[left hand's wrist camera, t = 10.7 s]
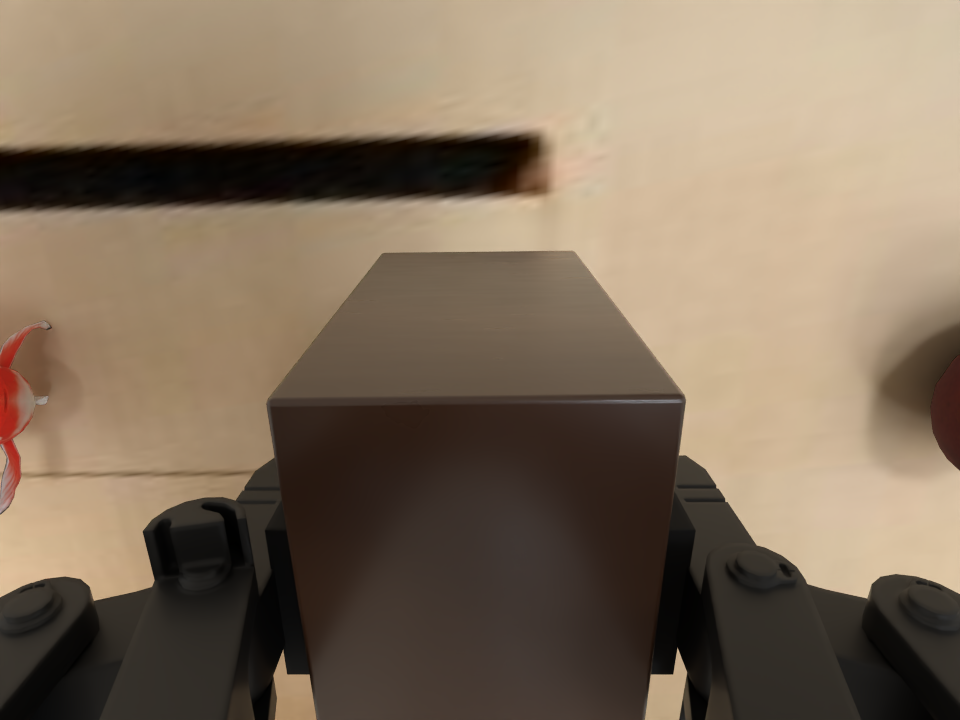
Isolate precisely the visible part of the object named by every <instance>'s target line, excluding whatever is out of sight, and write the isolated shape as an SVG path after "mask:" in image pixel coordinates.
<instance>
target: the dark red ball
mask: <svg viewBox="0 0 960 720" xmlns="http://www.w3.org/2000/svg"><path fill="white" fill-rule="evenodd" d="M931 419H932V429H933V433H934V436H935V438H936V440H937V442H938V445H939V447H940V449H941V450H942V452H943V453H944V455H945V456H946V458H947V459H948V460H949V461H950V462H951V463H952V464H953V465H954V466H955V467H957V468H958V469H959V470H960V354H959V355H958V356H957V357H956V358H955V359H954V360H953V361H952V362H951V364H950V365H949V367H948V368H947V370H946V371H945V372H944V374H943V375H942V377H941V378H940V379H939V381H938V382H937V384H936V386H935V390H934V394H933V399H932V403H931Z"/></svg>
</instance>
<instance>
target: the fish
mask: <svg viewBox="0 0 960 720" xmlns="http://www.w3.org/2000/svg"><path fill="white" fill-rule="evenodd" d="M36 328H42V329H45V330H48V329H51V328H52V327H51V326H50V325H49V324H48V323H47V322H46V321H41V322H38V323H35V324H32V325H29V326H26V327H24V328H23V329H21V330H20V331H18V332H17V333H15V334H13V335H12V336H10V337H9V338H8V339H7V340H6V341H5V343H4V344H3V345H2V347H1V350H0V446H1V448H2V449H3V451H4V452H5V455H6V457H7V460H6V466H5V469H4V472H3V476H2V481H1V491H0V514H2V513H3V512H4V511H5V510H6V509H7V508H8V507H9V506H10V504H11V502H12V500H13V498H14V494H15V489H16V487H17V486H18V484H19V481H20V478H21V458H20V455H19V453H18V450H17V448H16V446H15V444H14V441H13V439H12V438H14V437H15V436H17V435H18V434H19V433H21V432H22V431H23V430H24V429H25V427H26V426H27V425H28V424H29V422H30V420H31V419H32V417H33V413H34V408H35V404H37V405H44V404H46V403H47V400H48V396H34V395H33V392H32V389H31V387H30V385H29V383H28V381H27V380H26V379H25V378H24V377H22V376H21V375H20V374H19V373H18V372H17V371H15V370H12V369H10V367H11V365H12V362H13V360H14V358H15V355H16V353H17V351H18V349H19V348H20V346H21V345H22V343H23V341H24V339H25V337H26V336H27V335H28V334H29V332H30V331H31V330H32V329H36Z"/></svg>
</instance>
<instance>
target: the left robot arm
mask: <svg viewBox="0 0 960 720" xmlns="http://www.w3.org/2000/svg"><path fill="white" fill-rule="evenodd" d="M143 535H144V539H145V543H146V547H147V551H148V555H149V559H150V563H151V567H152V571H153V575H154V579H155V581H154V584H153V586H152V587H151V588H147V589H144V590H140V591H137V592H133V593H128V594H124V595H119V596H114V597H110V598H105V599H101V600H96V601H94V600H93V597H92V594H91V590H90V587H89V586H88V585H87V584H86V583H84V582H83V581H82V580H81V579H76V578H70V577H58V578H50V579H44V580H40V581H37V582H34V583H30V584H27V585H25V586H22V587H20V588H18V589H16V590H14V591H12V592H10V593H8V594H6V595H4V596H2V597H0V720H275V712H276V702H277V696H276V690H275V683H274V677H273V674H274V672H275V669H276V667H277V664H278V661H279V659H280V656H281V654H282V651H283V650H284V656H285V663H286V669H287V674H309V667H308V661H307V655H306V649H305V642H304V636H303V630H302V624H301V617H300V611H299V605H298V599H297V592H296V586H295V580H294V574H293V567H292V561H291V555H290V549H289V542H288V536H287V530H286V524H285V517H284V511H283V505H282V499H281V492H280V486H279V480H278V474H277V467H276V461H275V458H273V459H272V460H271V461H269V462H268V463H266V464H265V465H264V466H262V467H261V468H259V469H258V470H256V471H255V473H254V474H253V476H252V477H251V479H250V480H249V482H248V483H247V485H246V486H245V490H244V491H242V492H241V494H240V495H239V497H238V498H237V500H236V501H235V500H231V499H227V498H223V497H215V498H201V499H197V500H192V501H187V502H184V503H182V504H179V505H177V506H175V507H172V508H170V509H167V510H166V511H164V512H163V513H161V514H160V515H158V516H157V517H156V518H154V519H153V520H152V521H151V522H150V523H149V524H148V526H147V527H146V528H145V529H144V531H143ZM677 647H678V649H679V652H680V655H681V657H682V660H683V662H684V665H685V668H686V670H687V677H686V683H685V689H684V695H683V701H682V707H681V713H680V719H679V720H960V594H958V593H956V592H954V591H952V590H950V589H948V588H946V587H944V586H942V585H941V584H938V583H935V582H933V581H930V580H926V579H922V578H919V577H915V576H907V575H898V574H895V575H889V576H883V577H880V578H879V579H877V580H876V581H875V582H874V583H873V584H872V586H871V589H870V592H869V596H868V599H866V598H862V597H857V596H853V595H848V594H844V593H839V592H834V591H830V590H825V589H822V588H818V587H815V586H811V585H808V584H807V583H806V580H805V579H804V577H803V576H802V574H801V573H800V571H799V570H798V568H797V567H796V566H795V565H793V564H792V563H791V562H789V561H788V560H787V559H786V558H784V557H783V556H781V555H779V554H777V553H775V552H773V551H771V550H769V549H767V548H764V547H760V546H757V545H756V544H755V542H754V541H753V539H752V538H751V536H750V535H749V533H748V532H747V530H746V529H745V528H744V526H743V525H742V523H741V522H740V520H739V519H738V517H737V516H736V514H735V513H734V511H733V510H732V508H731V507H730V505H729V504H728V502H725V498H724V496H723V495H722V493H721V492H720V490H719V489H716V484H715V483H714V481H713V480H712V478H711V477H710V475H709V474H708V472H707V471H706V470H705V469H704V468H703V467H701V466H700V465H698V464H697V463H696V462H694V461H693V460H691V459H690V458H688V457H687V456H679V458H678V465H677V473H676V481H675V489H674V497H673V504H672V512H671V520H670V528H669V535H668V543H667V551H666V559H665V566H664V574H663V582H662V590H661V598H660V605H659V613H658V621H657V629H656V636H655V644H654V652H653V660H652V667H651V674H673V672H674V666H675V659H676V653H677Z"/></svg>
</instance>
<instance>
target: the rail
mask: <svg viewBox="0 0 960 720" xmlns="http://www.w3.org/2000/svg"><path fill="white" fill-rule="evenodd" d="M685 403H686V399H685V396H684V394H683V393H682V391H681V390H680V389H679V387H678V386H677V385H676V384H675V382H674V381H673V380H672V378H671V377H670V376H669V374H668V373H667V372H666V370H665V369H664V368H663V367H662V365H661V364H660V363H659V361H658V360H657V359H656V357H655V356H654V355H653V353H652V352H651V351H650V350H649V348H648V347H647V346H646V344H645V343H644V342H643V340H642V339H641V338H640V336H639V335H638V334H637V333H636V331H635V330H634V329H633V327H632V326H631V325H630V323H629V322H628V321H627V319H626V318H625V317H624V316H623V314H622V313H621V312H620V310H619V309H618V308H617V306H616V305H615V304H614V302H613V301H612V300H611V299H610V297H609V296H608V295H607V293H606V292H605V291H604V289H603V288H602V287H601V286H600V284H599V283H598V282H597V280H596V279H595V278H594V276H593V275H592V274H591V272H590V271H589V270H588V269H587V267H586V266H585V265H584V263H583V262H582V261H581V259H580V258H579V257H578V255H577V254H576V253H575V252H574V251H520V252H431V253H383V254H382V255H381V256H380V257H379V259H378V260H377V261H376V262H375V264H374V265H373V266H372V267H371V269H370V270H369V271H368V273H367V274H366V275H365V276H364V278H363V279H362V280H361V281H360V283H359V284H358V285H357V287H356V288H355V289H354V290H353V292H352V293H351V294H350V295H349V297H348V298H347V299H346V301H345V302H344V303H343V304H342V306H341V307H340V308H339V309H338V311H337V312H336V313H335V314H334V316H333V317H332V318H331V320H330V321H329V322H328V323H327V325H326V326H325V327H324V328H323V330H322V331H321V332H320V334H319V335H318V336H317V337H316V339H315V340H314V341H313V342H312V344H311V345H310V346H309V348H308V349H307V350H306V351H305V353H304V354H303V355H302V356H301V358H300V359H299V360H298V362H297V363H296V364H295V365H294V367H293V368H292V369H291V370H290V372H289V373H288V374H287V376H286V377H285V378H284V379H283V381H282V382H281V383H280V384H279V386H278V387H277V388H276V390H275V391H274V392H273V393H272V395H271V396H270V397H269V398H268V400H267V404H266V405H267V411H268V417H269V423H270V430H271V436H272V442H273V448H274V455H275V461H276V467H277V474H278V480H279V486H280V492H281V499H282V505H283V511H284V517H285V524H286V530H287V536H288V542H289V549H290V555H291V561H292V567H293V574H294V580H295V586H296V592H297V599H298V605H299V611H300V617H301V624H302V630H303V636H304V642H305V649H306V655H307V661H308V667H309V674H310V680H311V686H312V692H313V699H314V705H315V711H316V717H317V720H645V714H646V706H647V699H648V691H649V683H650V675H651V667H652V660H653V652H654V644H655V636H656V629H657V621H658V613H659V605H660V598H661V590H662V582H663V574H664V566H665V559H666V551H667V543H668V535H669V528H670V520H671V512H672V504H673V497H674V489H675V481H676V473H677V465H678V458H679V450H680V442H681V434H682V427H683V419H684V411H685Z"/></svg>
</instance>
